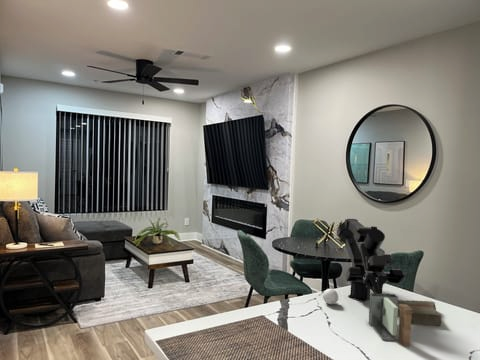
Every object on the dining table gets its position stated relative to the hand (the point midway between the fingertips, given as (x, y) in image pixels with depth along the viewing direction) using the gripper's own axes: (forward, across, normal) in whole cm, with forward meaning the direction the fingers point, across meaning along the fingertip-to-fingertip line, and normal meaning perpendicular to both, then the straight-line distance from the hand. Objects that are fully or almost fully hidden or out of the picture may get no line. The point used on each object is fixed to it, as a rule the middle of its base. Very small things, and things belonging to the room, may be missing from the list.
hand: (379, 298), depth 120 cm
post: (+16, +2, -5) cm, 17 cm away
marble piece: (+2, +16, +10) cm, 18 cm away
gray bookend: (+11, 0, 0) cm, 11 cm away
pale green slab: (+11, -1, -2) cm, 11 cm away
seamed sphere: (-3, -13, +14) cm, 19 cm away
